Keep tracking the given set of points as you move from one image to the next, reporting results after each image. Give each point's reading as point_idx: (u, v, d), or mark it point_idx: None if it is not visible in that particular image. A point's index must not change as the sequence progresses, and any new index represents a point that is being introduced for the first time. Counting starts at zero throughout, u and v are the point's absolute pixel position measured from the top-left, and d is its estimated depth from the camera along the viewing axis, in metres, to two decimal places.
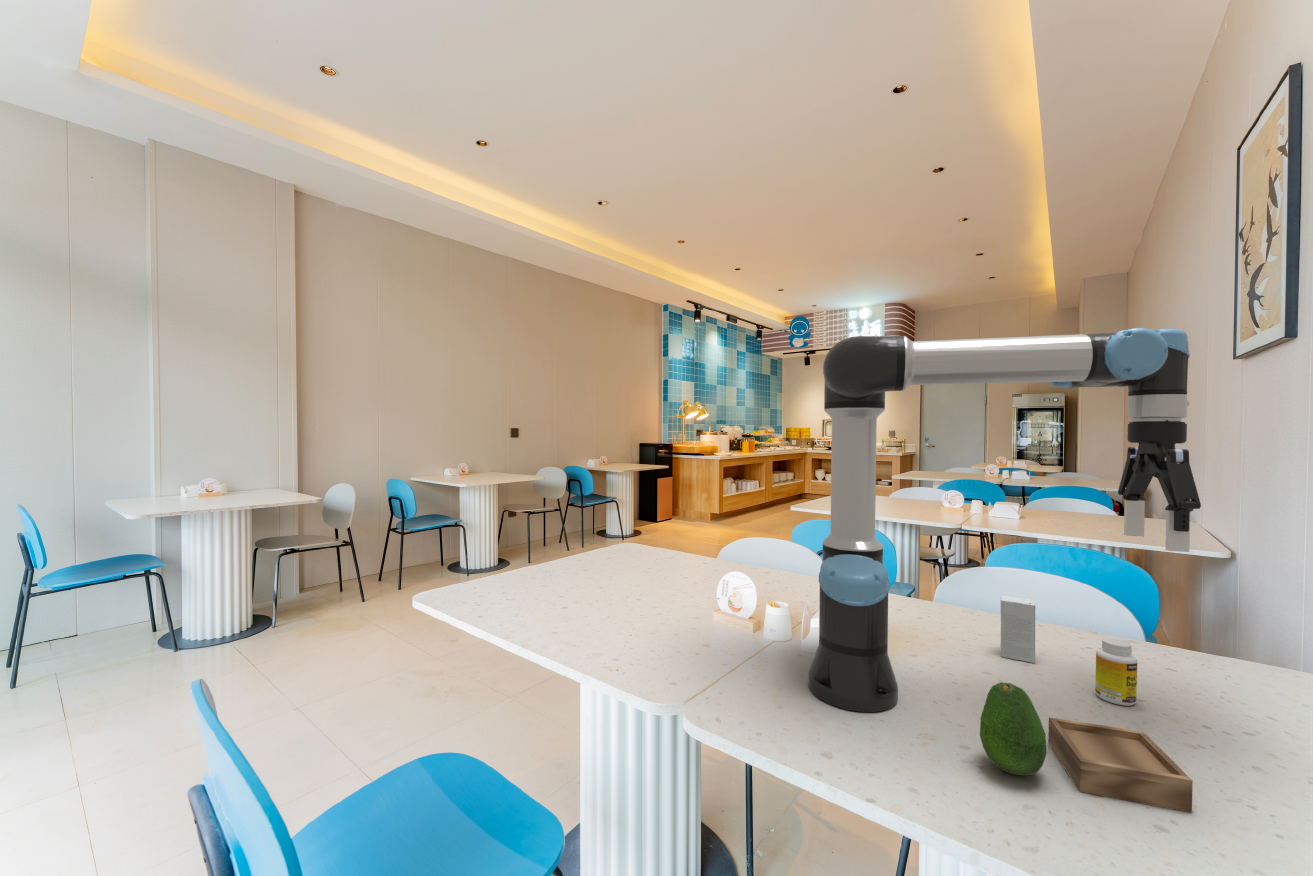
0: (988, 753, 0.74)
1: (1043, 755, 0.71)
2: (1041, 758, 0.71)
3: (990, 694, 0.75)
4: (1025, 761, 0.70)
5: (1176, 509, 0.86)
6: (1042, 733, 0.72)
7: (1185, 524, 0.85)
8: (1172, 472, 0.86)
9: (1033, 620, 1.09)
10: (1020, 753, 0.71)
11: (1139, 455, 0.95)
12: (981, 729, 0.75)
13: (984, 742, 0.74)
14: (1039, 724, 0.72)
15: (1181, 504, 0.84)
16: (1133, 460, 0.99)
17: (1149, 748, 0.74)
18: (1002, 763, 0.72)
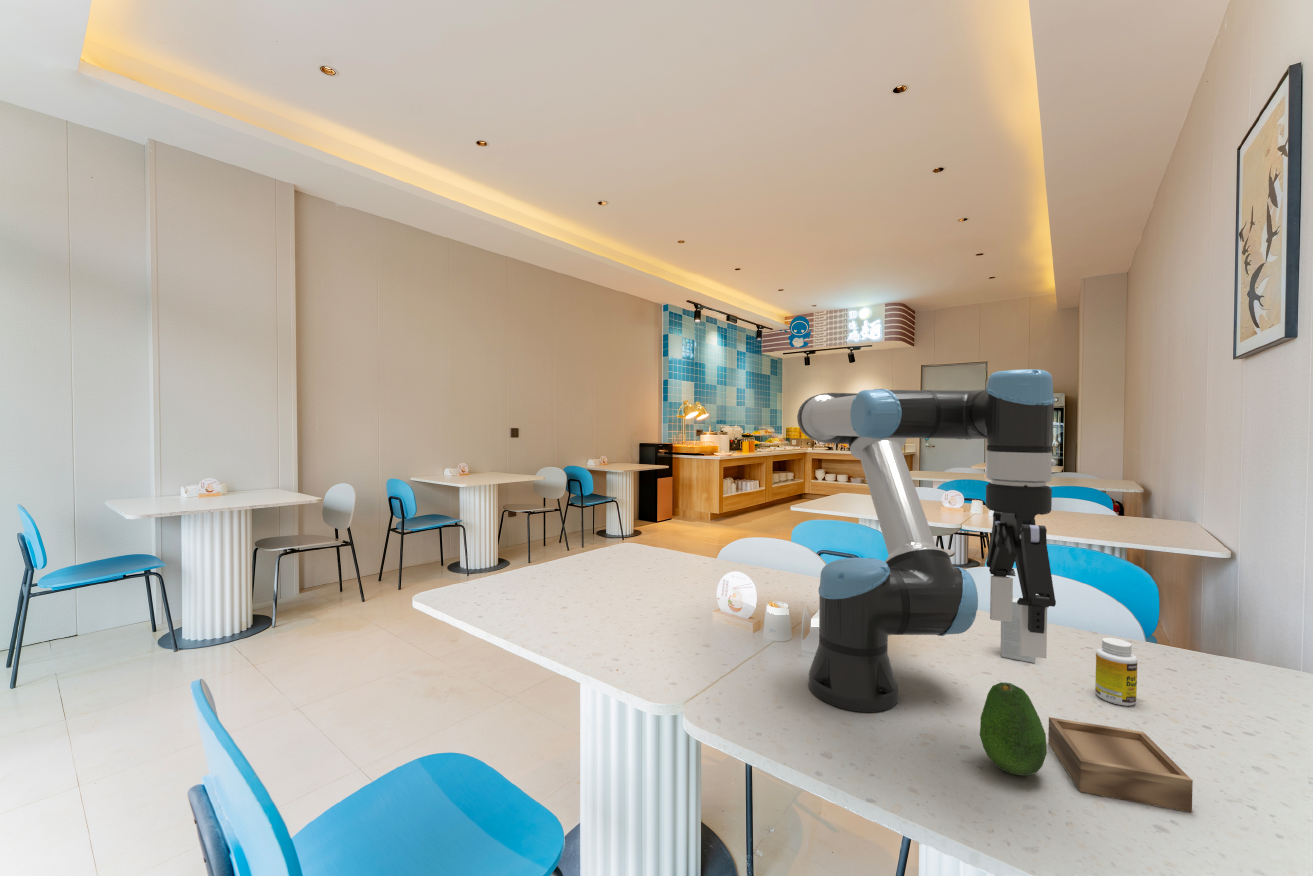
0: (988, 753, 0.74)
1: (1043, 755, 0.71)
2: (1041, 758, 0.71)
3: (990, 694, 0.75)
4: (1025, 761, 0.70)
5: (1029, 604, 0.67)
6: (1042, 733, 0.72)
7: (1039, 624, 0.66)
8: (1025, 556, 0.67)
9: None
10: (1020, 753, 0.71)
11: (999, 526, 0.75)
12: (981, 729, 0.75)
13: (984, 742, 0.74)
14: (1039, 724, 0.72)
15: (1032, 600, 0.65)
16: None
17: (1149, 748, 0.74)
18: (1002, 763, 0.72)
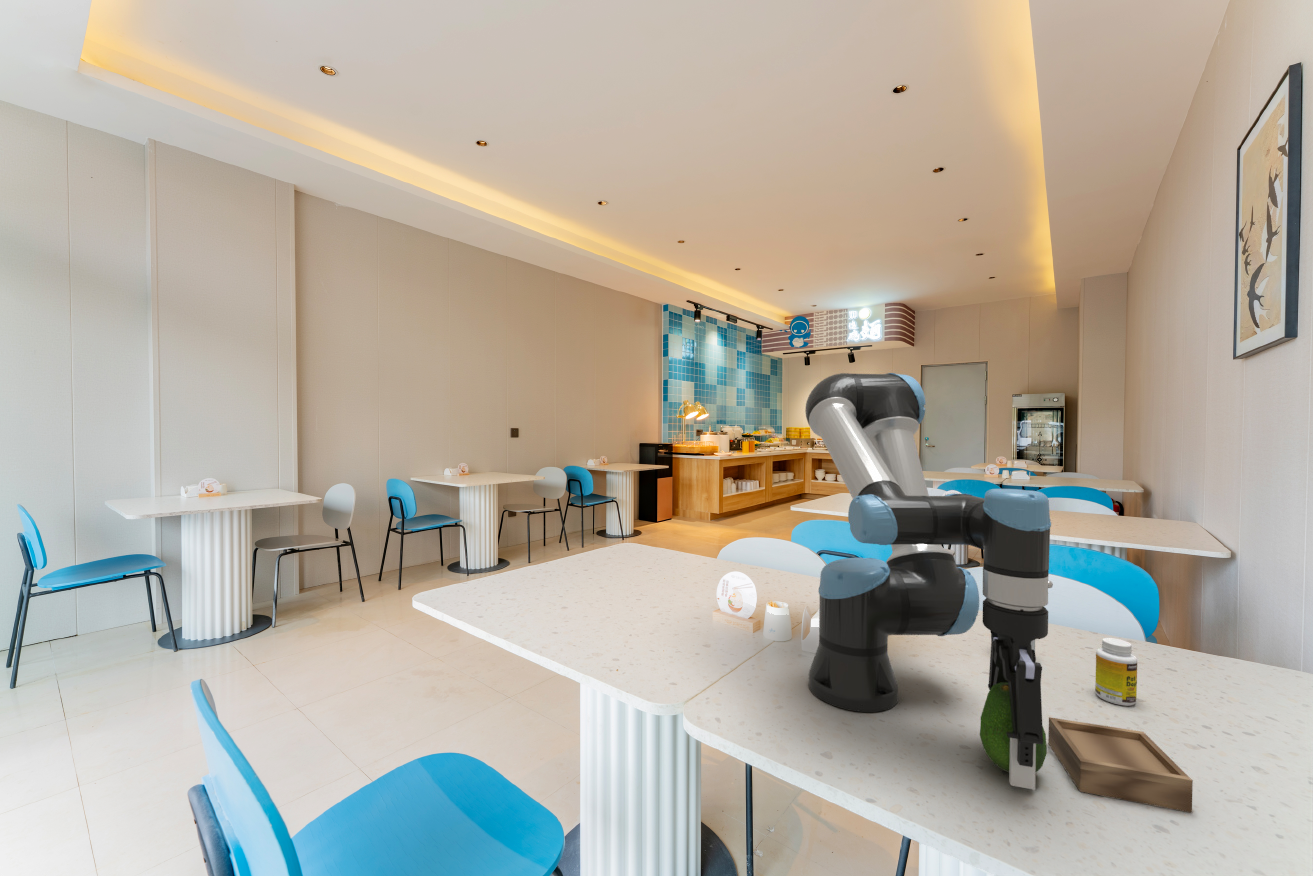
0: (988, 753, 0.74)
1: (1043, 755, 0.71)
2: (1041, 758, 0.71)
3: (990, 694, 0.75)
4: None
5: (1018, 738, 0.69)
6: None
7: (1028, 758, 0.69)
8: (1018, 693, 0.68)
9: None
10: None
11: (995, 642, 0.76)
12: (981, 729, 0.75)
13: (984, 742, 0.74)
14: None
15: (1020, 738, 0.67)
16: None
17: (1149, 748, 0.74)
18: (1003, 763, 0.72)
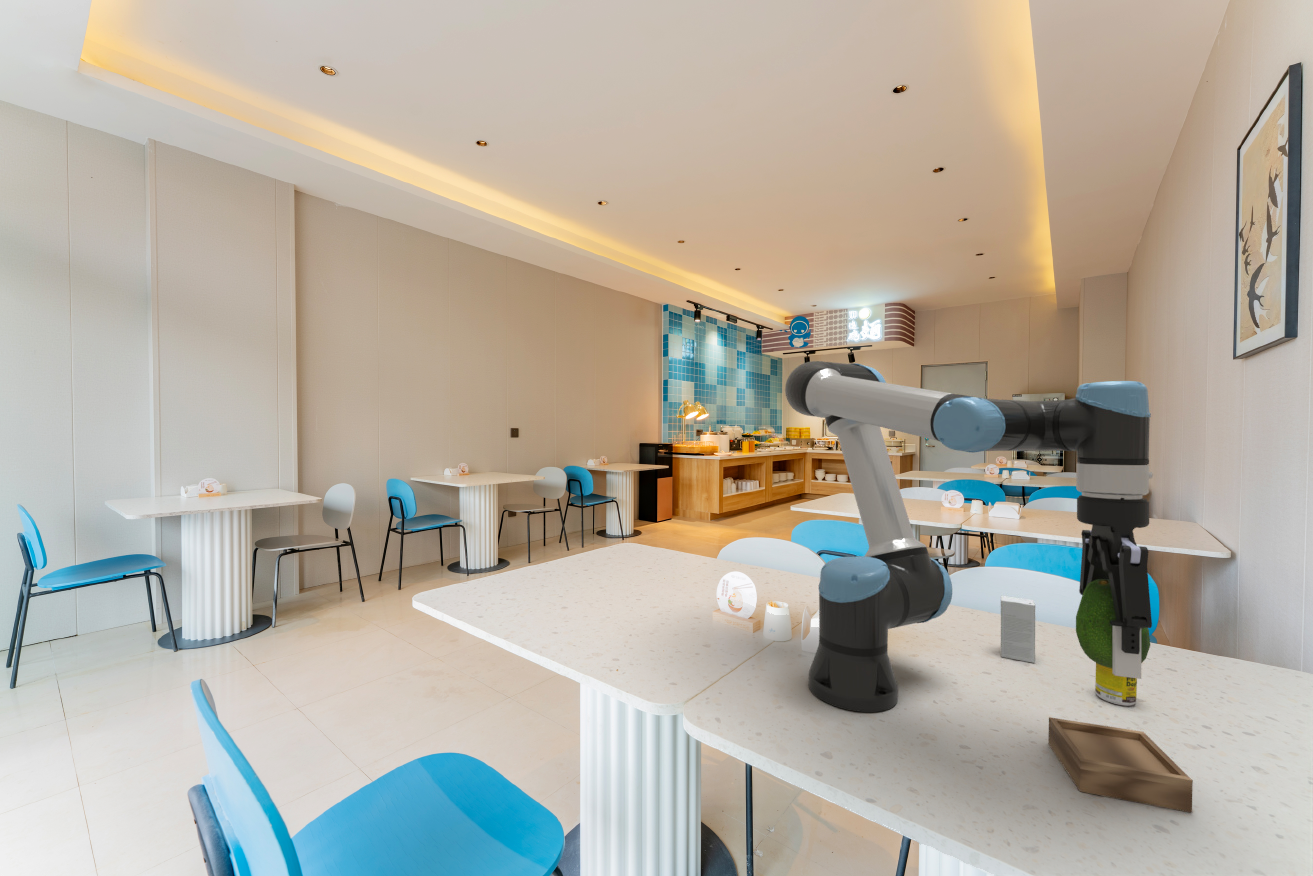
0: (1087, 648, 0.73)
1: (1147, 646, 0.70)
2: (1145, 649, 0.70)
3: (1087, 590, 0.74)
4: None
5: (1123, 626, 0.68)
6: None
7: (1134, 645, 0.68)
8: (1124, 578, 0.67)
9: (1033, 620, 1.09)
10: None
11: (1091, 538, 0.75)
12: (1078, 626, 0.74)
13: (1082, 638, 0.73)
14: None
15: (1127, 622, 0.66)
16: (1090, 546, 0.78)
17: (1149, 748, 0.74)
18: (1104, 656, 0.71)
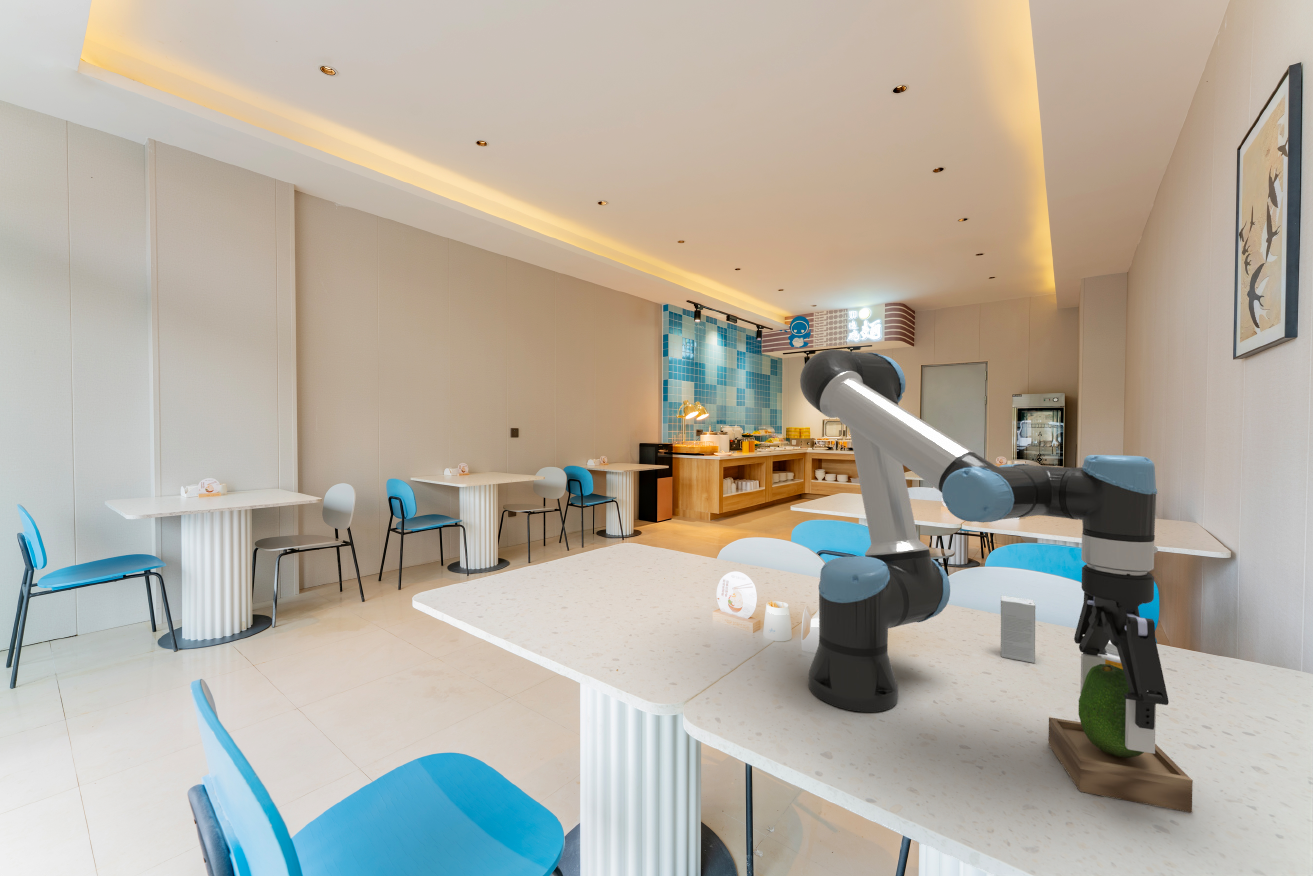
0: (1091, 735, 0.73)
1: None
2: None
3: (1090, 676, 0.74)
4: None
5: (1138, 699, 0.66)
6: None
7: (1149, 720, 0.66)
8: (1134, 650, 0.67)
9: (1033, 620, 1.09)
10: None
11: (1095, 609, 0.75)
12: (1081, 711, 0.74)
13: (1086, 724, 0.73)
14: None
15: (1143, 697, 0.65)
16: (1091, 607, 0.79)
17: None
18: (1108, 745, 0.71)
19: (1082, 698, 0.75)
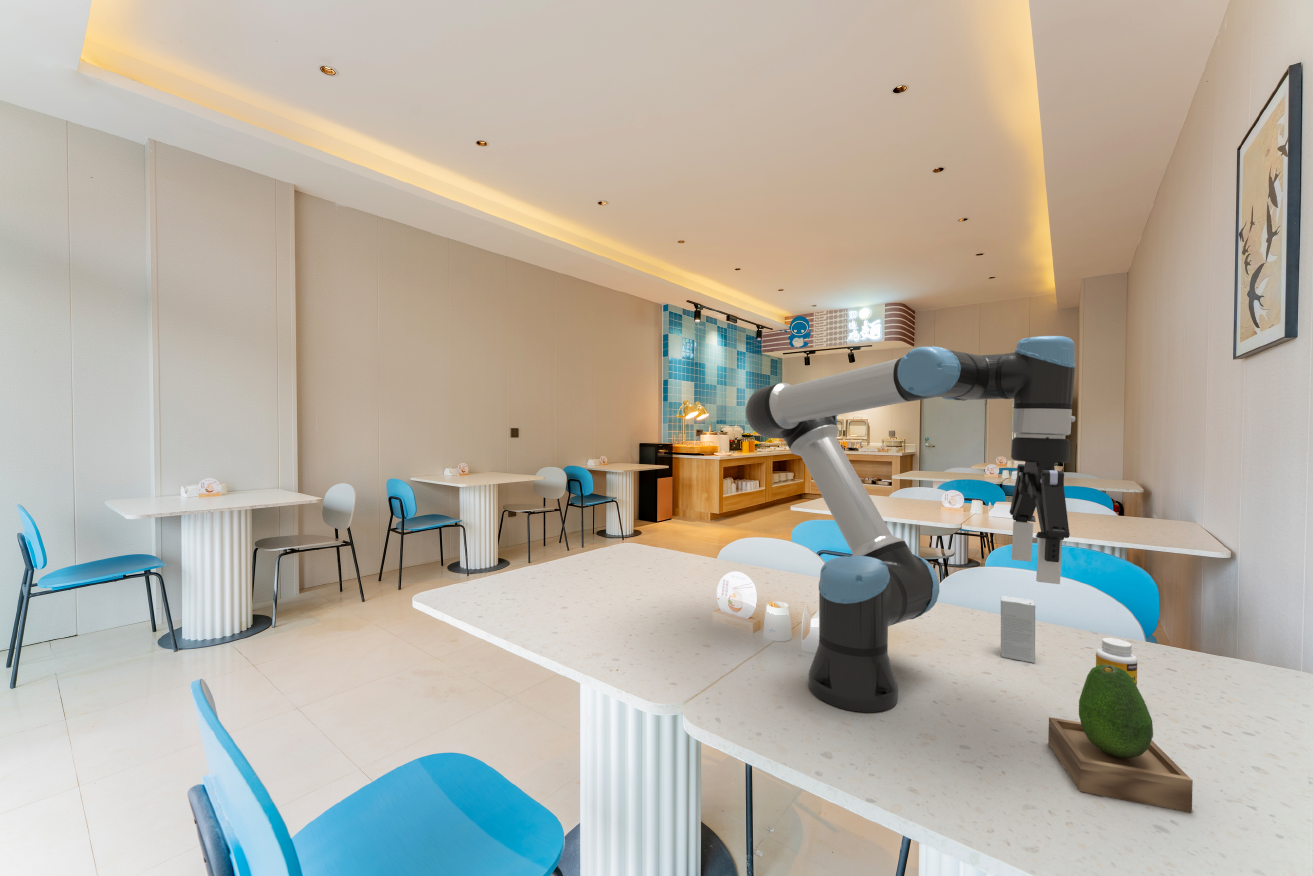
0: (1091, 736, 0.73)
1: (1151, 737, 0.70)
2: (1149, 740, 0.70)
3: (1091, 676, 0.74)
4: (1134, 742, 0.70)
5: (1046, 537, 0.77)
6: (1149, 715, 0.71)
7: (1055, 554, 0.77)
8: (1045, 496, 0.78)
9: (1033, 620, 1.09)
10: (1128, 735, 0.70)
11: (1022, 474, 0.86)
12: (1082, 712, 0.74)
13: (1086, 725, 0.73)
14: (1145, 706, 0.71)
15: (1049, 532, 0.76)
16: None
17: (1149, 748, 0.74)
18: (1108, 746, 0.71)
19: (1082, 699, 0.75)
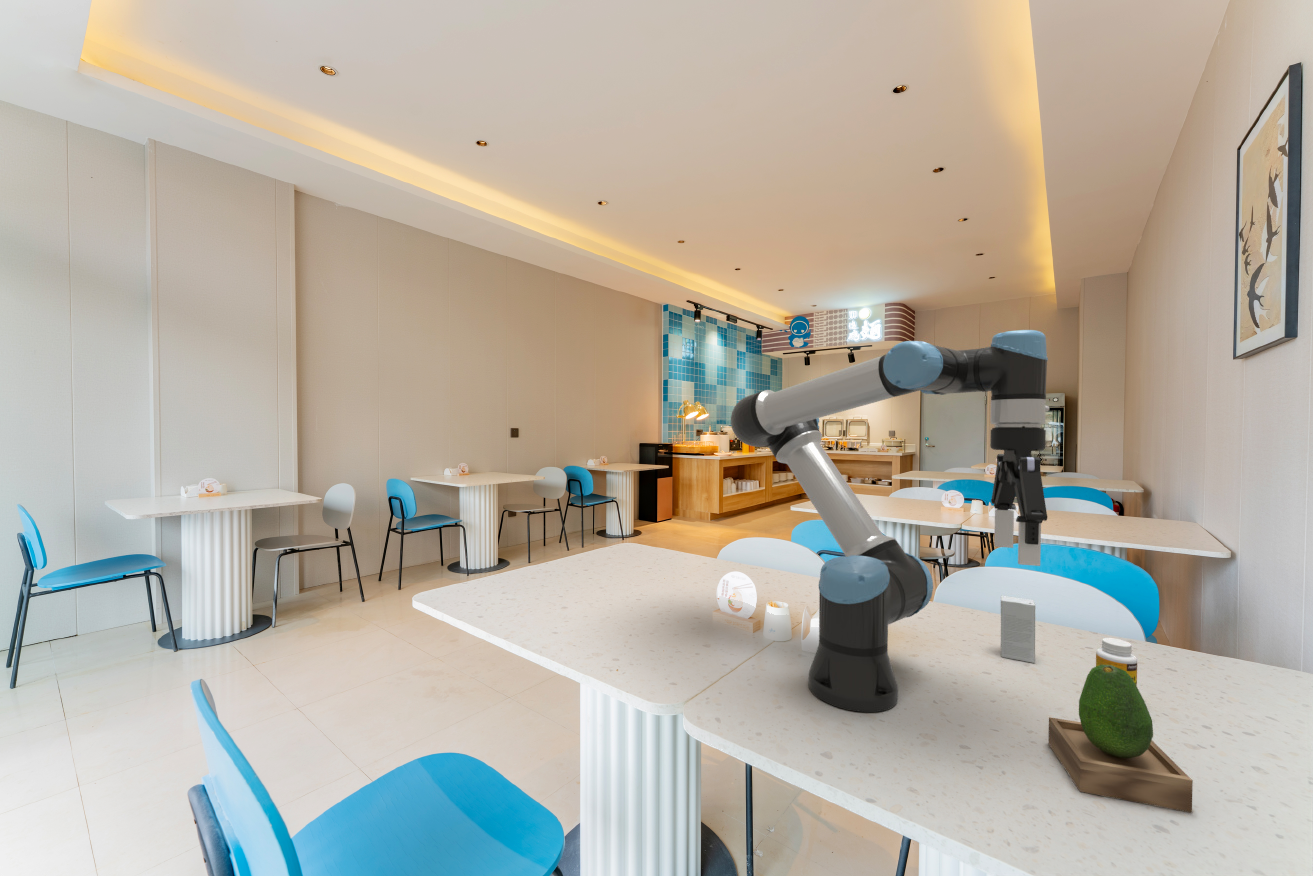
0: (1091, 736, 0.73)
1: (1151, 737, 0.70)
2: (1149, 740, 0.70)
3: (1091, 676, 0.74)
4: (1134, 742, 0.70)
5: (1026, 521, 0.81)
6: (1149, 715, 0.71)
7: (1034, 536, 0.81)
8: (1023, 481, 0.81)
9: (1033, 620, 1.09)
10: (1128, 735, 0.70)
11: (1001, 463, 0.90)
12: (1082, 712, 0.74)
13: (1086, 725, 0.73)
14: (1145, 706, 0.71)
15: (1028, 515, 0.79)
16: None
17: (1149, 748, 0.74)
18: (1108, 746, 0.71)
19: (1082, 699, 0.75)
